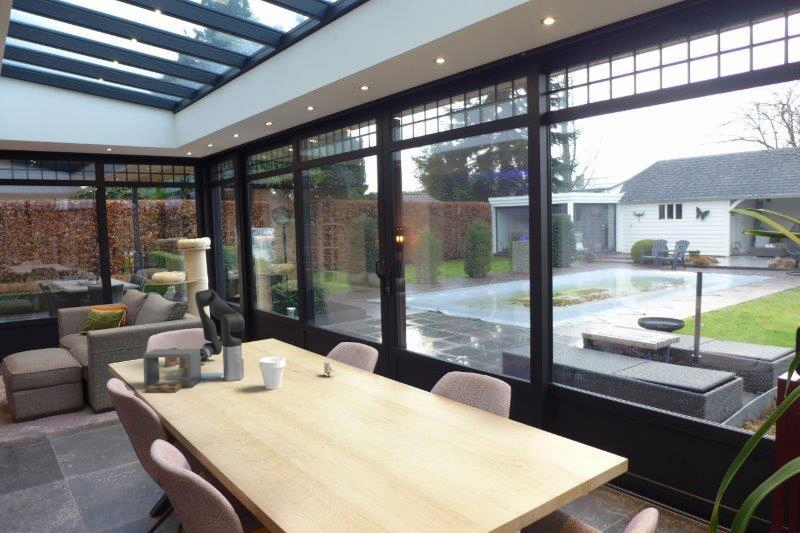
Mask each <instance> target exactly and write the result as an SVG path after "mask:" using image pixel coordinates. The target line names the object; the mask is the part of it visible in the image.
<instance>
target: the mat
mask: <svg viewBox="0 0 800 533" xmlns="http://www.w3.org/2000/svg"><path fill="white" fill-rule="evenodd" d="M222 375H223V376H224V372H201V381H202V380H203V381H216V380H218V379H220V378H221V377H223V376H222ZM165 380H166V381H185V380H186V381H188V378H180V373H179V372H176V373H174V374H173V375H171V376H168V378H167V377H166V379H165Z"/></svg>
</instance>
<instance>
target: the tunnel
mask: <svg viewBox="0 0 800 533" xmlns="http://www.w3.org/2000/svg"><path fill="white" fill-rule="evenodd" d="M142 357H143V360H142V361H143V379H144V381H143V382H144V383H143V384H144V389H146V387H147V386H149V385H151V384H153V383H157V382H158V383H159V381H160V360H159V358H165V357H178V358H179V357H187V369H188V380H187V388H188V389H192V388H194V387H195V386H196V385H198V384H200V383H202V380H201V373H202V365H201V364H202V363H201V357H200V349H199V348H177V349H169V348H154V349H152V350H150V351H148V352H145V353H143V354H142Z"/></svg>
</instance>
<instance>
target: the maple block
mask: <svg viewBox="0 0 800 533" xmlns="http://www.w3.org/2000/svg"><path fill="white" fill-rule="evenodd" d="M178 361H179V365H178V369H179V372H178V373H180V378H188V369H187V357H178Z"/></svg>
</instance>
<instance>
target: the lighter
mask: <svg viewBox="0 0 800 533" xmlns="http://www.w3.org/2000/svg"><path fill="white" fill-rule="evenodd" d="M168 349H178V347H171V348H168ZM176 365H177V366H179V357H164V368H171V366H172V367H176Z"/></svg>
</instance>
